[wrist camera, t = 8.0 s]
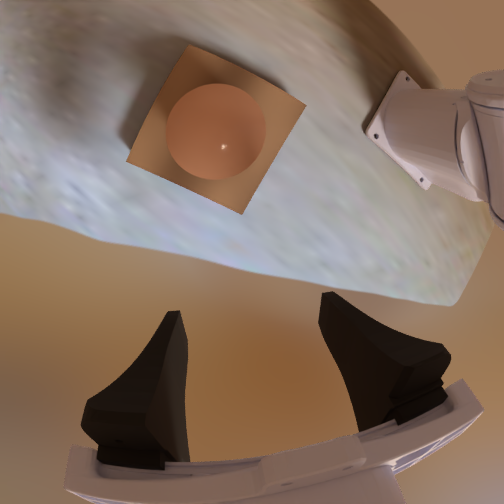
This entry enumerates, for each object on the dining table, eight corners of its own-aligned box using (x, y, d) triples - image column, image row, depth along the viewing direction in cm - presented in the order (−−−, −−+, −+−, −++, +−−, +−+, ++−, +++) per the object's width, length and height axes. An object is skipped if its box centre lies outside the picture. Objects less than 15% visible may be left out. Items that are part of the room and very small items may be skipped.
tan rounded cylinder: (262, 112, 16) (282, 109, 11) (231, 173, 18) (239, 194, 13) (198, 84, 15) (192, 69, 10) (168, 147, 16) (150, 158, 12)
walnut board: (295, 107, 18) (306, 105, 16) (238, 204, 21) (242, 214, 19) (191, 53, 15) (188, 44, 13) (135, 156, 18) (126, 161, 16)
